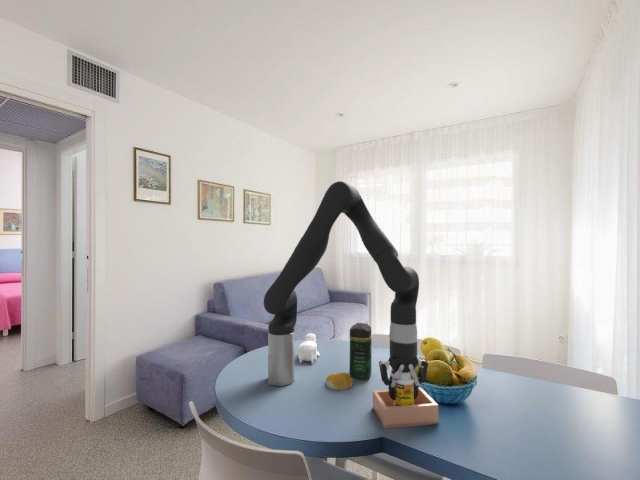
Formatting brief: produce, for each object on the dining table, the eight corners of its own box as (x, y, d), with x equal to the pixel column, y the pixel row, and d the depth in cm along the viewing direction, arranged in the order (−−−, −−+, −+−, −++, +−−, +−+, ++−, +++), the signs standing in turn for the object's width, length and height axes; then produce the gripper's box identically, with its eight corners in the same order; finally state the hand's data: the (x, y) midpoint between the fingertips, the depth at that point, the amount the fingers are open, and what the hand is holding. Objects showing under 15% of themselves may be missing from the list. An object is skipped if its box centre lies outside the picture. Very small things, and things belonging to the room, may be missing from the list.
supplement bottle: (392, 410, 83) (392, 373, 83) (394, 400, 88) (393, 365, 88) (413, 414, 81) (413, 376, 81) (414, 403, 86) (413, 367, 86)
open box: (384, 428, 78) (384, 409, 78) (372, 407, 88) (372, 390, 88) (438, 423, 80) (438, 404, 80) (421, 404, 90) (420, 387, 90)
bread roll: (356, 387, 102) (356, 375, 102) (334, 393, 98) (334, 380, 98) (343, 377, 109) (343, 366, 109) (322, 382, 105) (322, 371, 105)
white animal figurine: (317, 370, 122) (321, 345, 136) (316, 353, 119) (320, 329, 133) (296, 369, 123) (302, 344, 137) (295, 352, 120) (301, 329, 134)
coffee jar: (370, 382, 105) (369, 329, 105) (347, 379, 107) (347, 327, 107) (373, 371, 114) (372, 322, 114) (352, 368, 116) (352, 320, 116)
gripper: (383, 343, 80) (383, 407, 80) (433, 341, 82) (434, 403, 82) (374, 335, 87) (374, 393, 87) (421, 333, 89) (421, 390, 89)
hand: (403, 397), depth 84 cm, fingers closed on supplement bottle, 5 cm apart
